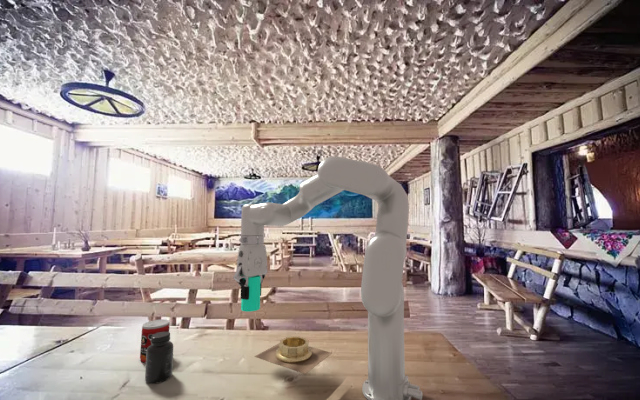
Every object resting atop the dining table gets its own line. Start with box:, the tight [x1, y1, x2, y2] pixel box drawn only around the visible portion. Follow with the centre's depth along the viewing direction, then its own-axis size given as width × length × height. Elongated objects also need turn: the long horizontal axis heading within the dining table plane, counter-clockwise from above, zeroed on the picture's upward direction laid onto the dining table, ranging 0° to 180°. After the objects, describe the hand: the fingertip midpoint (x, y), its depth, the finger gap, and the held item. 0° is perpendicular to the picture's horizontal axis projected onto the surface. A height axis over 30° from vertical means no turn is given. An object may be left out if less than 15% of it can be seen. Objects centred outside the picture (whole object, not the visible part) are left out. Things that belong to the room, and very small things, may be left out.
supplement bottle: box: [144, 331, 174, 385], centre depth 80 cm, size 7×7×12 cm
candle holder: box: [276, 335, 312, 363], centre depth 91 cm, size 12×12×4 cm
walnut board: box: [254, 343, 332, 375], centre depth 91 cm, size 20×16×2 cm
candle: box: [240, 276, 262, 313], centre depth 90 cm, size 6×6×12 cm
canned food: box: [139, 318, 171, 363], centre depth 92 cm, size 8×8×11 cm
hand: (251, 296), depth 90 cm, fingers closed on candle, 4 cm apart
